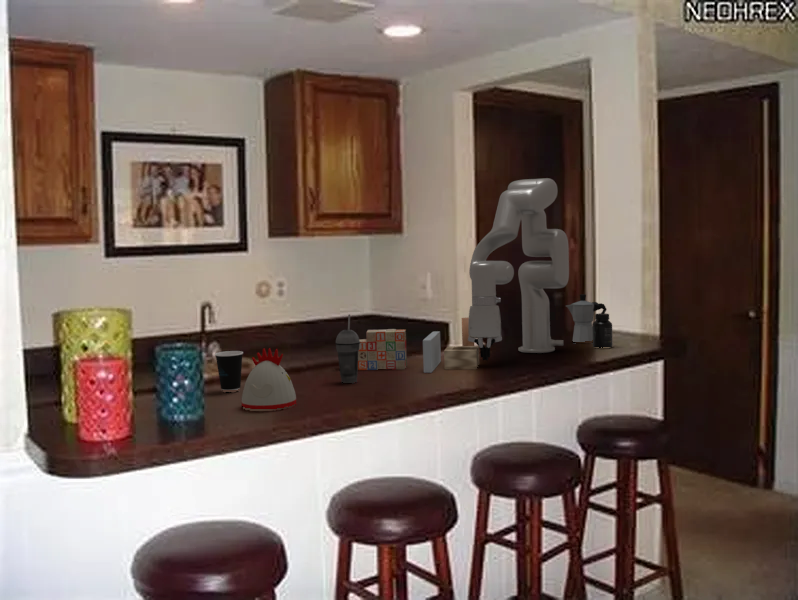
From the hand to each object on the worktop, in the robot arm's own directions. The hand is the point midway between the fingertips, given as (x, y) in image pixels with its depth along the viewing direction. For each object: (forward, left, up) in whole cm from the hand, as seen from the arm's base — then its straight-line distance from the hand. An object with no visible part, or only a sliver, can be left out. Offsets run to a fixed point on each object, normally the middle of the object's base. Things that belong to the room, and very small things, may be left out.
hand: (485, 359), depth 263 cm
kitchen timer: (+51, +60, -3) cm, 78 cm away
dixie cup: (+69, +41, -2) cm, 80 cm away
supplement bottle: (-38, -40, -2) cm, 56 cm away
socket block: (+7, 0, -2) cm, 8 cm away
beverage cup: (+38, +27, -2) cm, 46 cm away
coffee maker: (-33, -54, -2) cm, 64 cm away
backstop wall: (+17, 0, -2) cm, 17 cm away
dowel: (+7, -14, -2) cm, 16 cm away
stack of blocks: (+36, +2, -3) cm, 36 cm away
